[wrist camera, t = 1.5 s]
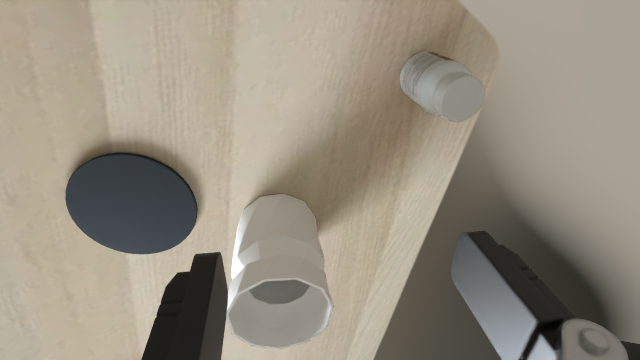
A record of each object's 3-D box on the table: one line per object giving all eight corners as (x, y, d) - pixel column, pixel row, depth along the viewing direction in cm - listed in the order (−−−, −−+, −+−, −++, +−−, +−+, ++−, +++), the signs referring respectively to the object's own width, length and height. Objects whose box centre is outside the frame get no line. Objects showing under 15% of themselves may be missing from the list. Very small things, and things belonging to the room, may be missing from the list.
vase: (314, 253, 40) (330, 345, 30) (239, 256, 39) (229, 353, 29) (318, 191, 36) (338, 273, 26) (234, 192, 35) (220, 280, 25)
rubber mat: (54, 229, 34) (52, 231, 34) (85, 131, 30) (82, 132, 29) (173, 264, 38) (172, 267, 38) (215, 183, 34) (215, 185, 34)
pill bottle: (452, 77, 32) (501, 102, 25) (413, 107, 33) (450, 139, 26) (430, 39, 30) (476, 55, 23) (389, 73, 31) (423, 97, 24)
